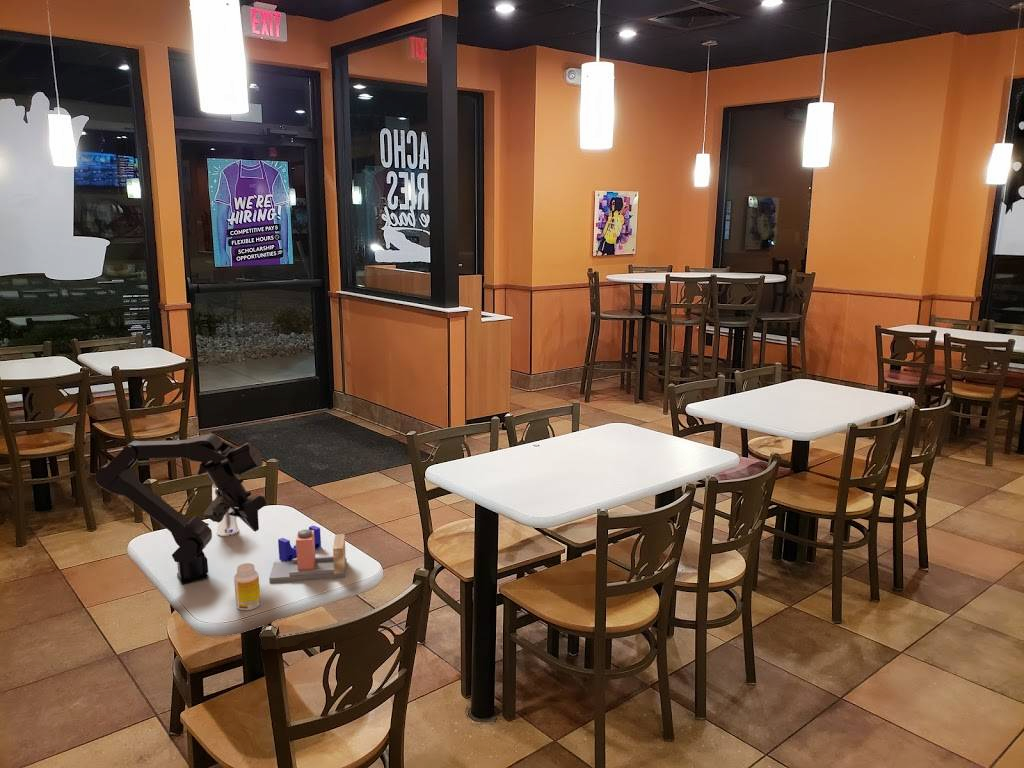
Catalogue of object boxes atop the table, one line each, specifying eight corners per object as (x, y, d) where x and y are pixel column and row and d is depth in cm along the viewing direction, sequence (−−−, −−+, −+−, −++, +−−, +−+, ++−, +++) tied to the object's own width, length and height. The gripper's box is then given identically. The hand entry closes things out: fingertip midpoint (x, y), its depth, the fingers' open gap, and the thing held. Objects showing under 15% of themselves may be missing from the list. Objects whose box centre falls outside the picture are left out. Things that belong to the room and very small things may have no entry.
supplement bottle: (265, 605, 185) (262, 566, 183) (243, 613, 181) (240, 574, 179) (253, 597, 189) (250, 559, 186) (232, 605, 185) (228, 566, 182)
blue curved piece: (310, 543, 220) (309, 524, 218) (321, 547, 217) (320, 527, 216) (275, 558, 210) (274, 538, 209) (286, 562, 207) (285, 542, 206)
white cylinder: (245, 530, 227) (241, 483, 224) (225, 539, 222) (221, 490, 218) (230, 525, 231) (226, 478, 228) (210, 533, 225) (206, 485, 222)
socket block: (334, 573, 198) (332, 548, 197) (336, 558, 207) (335, 534, 205) (343, 573, 199) (342, 548, 197) (345, 557, 207) (344, 534, 206)
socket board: (269, 582, 196) (268, 574, 196) (274, 566, 205) (273, 559, 204) (344, 577, 199) (344, 569, 199) (346, 561, 208) (346, 554, 207)
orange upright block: (297, 572, 198) (295, 537, 196) (300, 562, 204) (298, 528, 202) (313, 571, 199) (311, 536, 197) (315, 561, 205) (313, 527, 202)
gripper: (184, 497, 195) (215, 545, 200) (214, 502, 182) (246, 554, 187) (221, 472, 202) (250, 520, 207) (252, 475, 189) (282, 526, 194)
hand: (256, 530), depth 198 cm, fingers closed
